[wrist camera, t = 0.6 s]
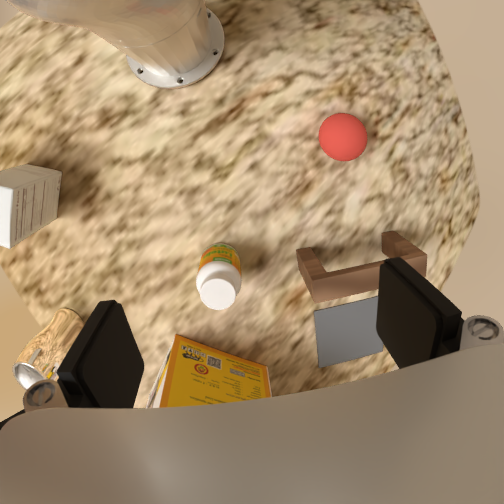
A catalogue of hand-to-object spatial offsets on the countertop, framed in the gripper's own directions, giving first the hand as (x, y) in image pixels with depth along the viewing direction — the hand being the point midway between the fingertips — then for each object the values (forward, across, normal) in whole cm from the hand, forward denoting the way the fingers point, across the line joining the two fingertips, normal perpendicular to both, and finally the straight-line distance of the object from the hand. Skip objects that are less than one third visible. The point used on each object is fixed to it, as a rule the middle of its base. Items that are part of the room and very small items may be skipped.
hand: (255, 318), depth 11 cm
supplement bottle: (+32, +4, +11) cm, 34 cm away
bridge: (+31, -14, +12) cm, 36 cm away
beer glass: (+32, +32, +18) cm, 48 cm away
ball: (+28, -14, -4) cm, 32 cm away
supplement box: (+32, +29, -4) cm, 43 cm away
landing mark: (+31, -15, +27) cm, 44 cm away
